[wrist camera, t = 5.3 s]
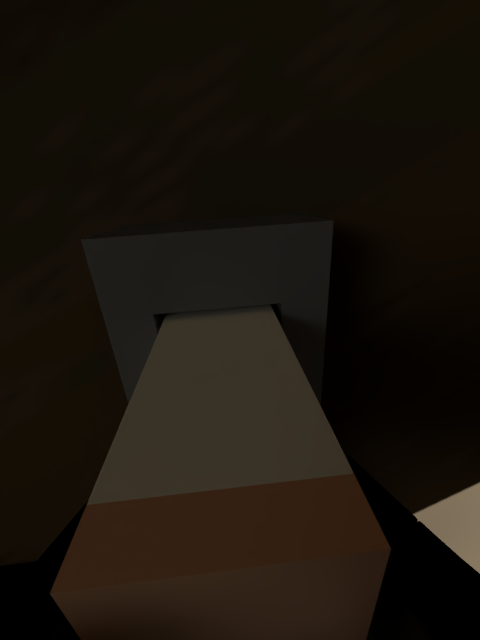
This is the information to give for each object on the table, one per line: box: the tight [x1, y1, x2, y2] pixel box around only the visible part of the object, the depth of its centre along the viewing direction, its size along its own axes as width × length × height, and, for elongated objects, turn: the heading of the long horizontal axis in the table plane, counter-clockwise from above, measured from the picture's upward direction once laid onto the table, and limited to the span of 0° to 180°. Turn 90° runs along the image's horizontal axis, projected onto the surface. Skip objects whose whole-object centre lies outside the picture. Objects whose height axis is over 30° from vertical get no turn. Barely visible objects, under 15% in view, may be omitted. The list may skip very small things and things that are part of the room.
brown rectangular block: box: [50, 304, 391, 640], centre depth 8 cm, size 4×5×9 cm
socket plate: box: [81, 213, 334, 406], centre depth 15 cm, size 8×22×4 cm, turn 4°
